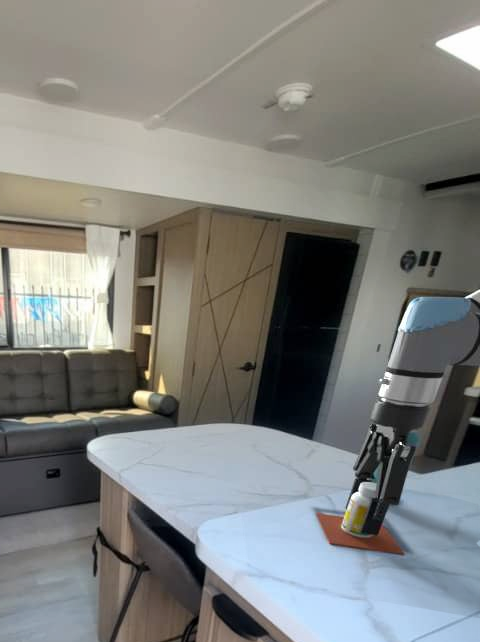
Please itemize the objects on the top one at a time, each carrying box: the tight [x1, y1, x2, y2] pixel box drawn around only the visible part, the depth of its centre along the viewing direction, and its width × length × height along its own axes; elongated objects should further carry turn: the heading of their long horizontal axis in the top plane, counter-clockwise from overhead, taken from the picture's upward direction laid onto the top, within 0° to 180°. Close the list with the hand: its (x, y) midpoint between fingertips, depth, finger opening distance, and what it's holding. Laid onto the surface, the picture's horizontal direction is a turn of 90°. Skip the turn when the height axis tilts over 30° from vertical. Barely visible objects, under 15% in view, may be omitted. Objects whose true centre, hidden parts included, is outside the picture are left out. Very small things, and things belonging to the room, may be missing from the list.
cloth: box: [315, 512, 405, 556], centre depth 78 cm, size 12×12×1 cm
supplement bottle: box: [341, 482, 377, 538], centre depth 75 cm, size 5×5×10 cm
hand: (360, 520), depth 76 cm, fingers open, 9 cm apart
